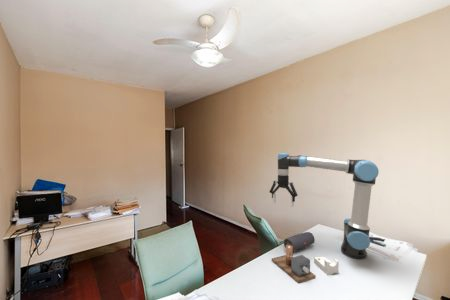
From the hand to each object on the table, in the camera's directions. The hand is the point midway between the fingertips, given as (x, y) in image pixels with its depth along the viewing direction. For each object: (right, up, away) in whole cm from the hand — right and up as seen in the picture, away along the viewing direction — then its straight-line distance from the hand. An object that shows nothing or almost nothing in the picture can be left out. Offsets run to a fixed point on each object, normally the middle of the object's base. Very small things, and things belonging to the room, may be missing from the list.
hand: (282, 204), depth 149 cm
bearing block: (+1, -30, -31) cm, 44 cm away
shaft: (0, -30, -28) cm, 41 cm away
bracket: (+19, -33, -24) cm, 44 cm away
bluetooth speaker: (+12, -32, 0) cm, 34 cm away
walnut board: (-2, -32, -24) cm, 40 cm away
